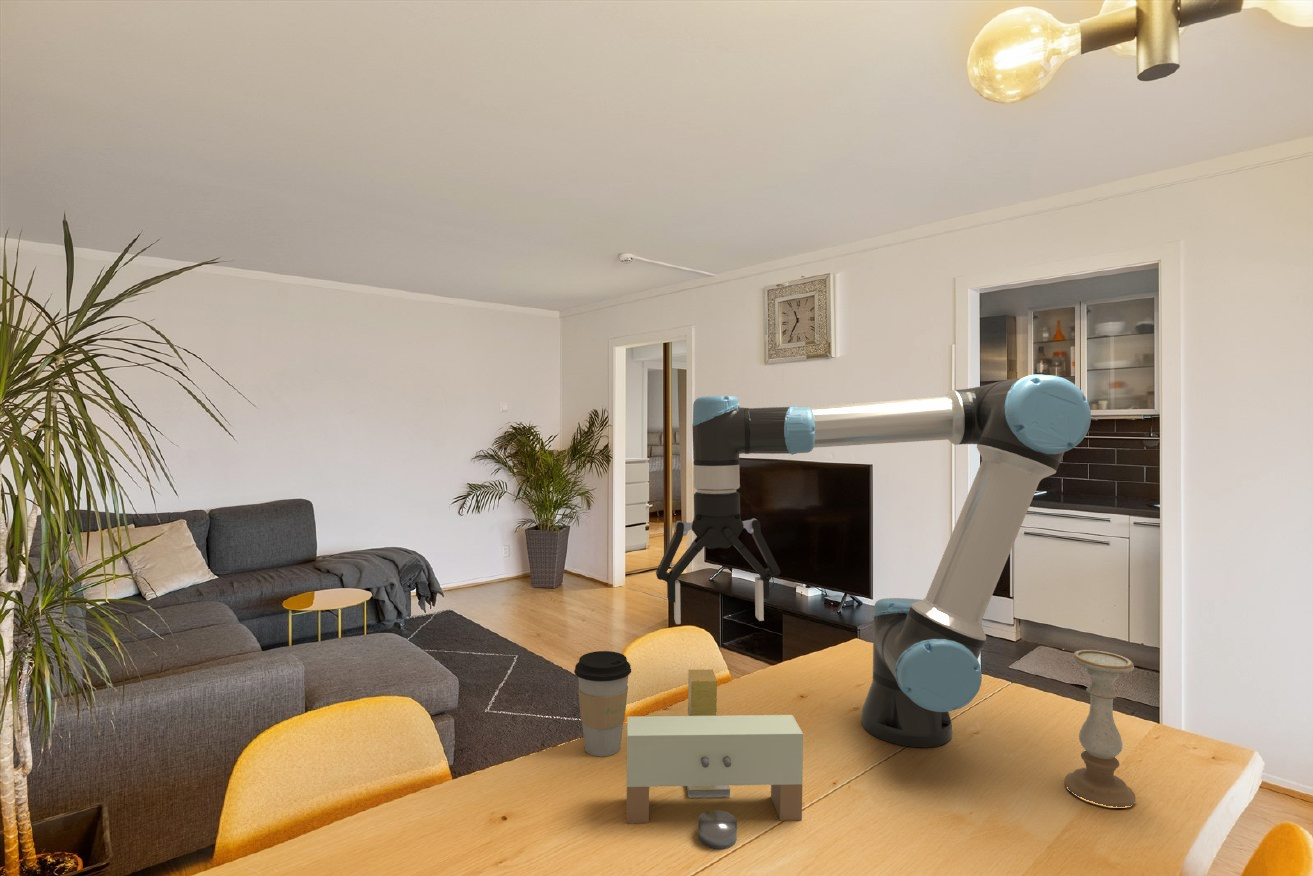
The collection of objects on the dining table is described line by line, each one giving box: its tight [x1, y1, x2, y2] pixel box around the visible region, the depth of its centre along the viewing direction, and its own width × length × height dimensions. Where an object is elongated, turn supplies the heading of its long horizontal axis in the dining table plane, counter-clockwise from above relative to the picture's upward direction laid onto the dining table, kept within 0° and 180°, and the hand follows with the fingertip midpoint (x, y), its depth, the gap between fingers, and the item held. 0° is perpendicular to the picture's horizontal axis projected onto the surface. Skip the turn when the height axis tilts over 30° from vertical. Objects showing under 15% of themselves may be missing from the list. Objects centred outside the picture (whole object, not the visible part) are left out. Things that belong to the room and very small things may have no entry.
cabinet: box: [626, 714, 804, 824], centre depth 96 cm, size 24×7×12 cm, turn 93°
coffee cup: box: [573, 650, 632, 758], centre depth 114 cm, size 9×9×15 cm
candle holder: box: [1064, 649, 1136, 807], centre depth 101 cm, size 9×9×20 cm
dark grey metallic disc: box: [697, 809, 738, 851], centre depth 90 cm, size 5×5×2 cm
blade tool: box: [686, 669, 731, 799], centre depth 106 cm, size 6×13×14 cm, turn 3°
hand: (718, 620), depth 112 cm, fingers open, 13 cm apart
